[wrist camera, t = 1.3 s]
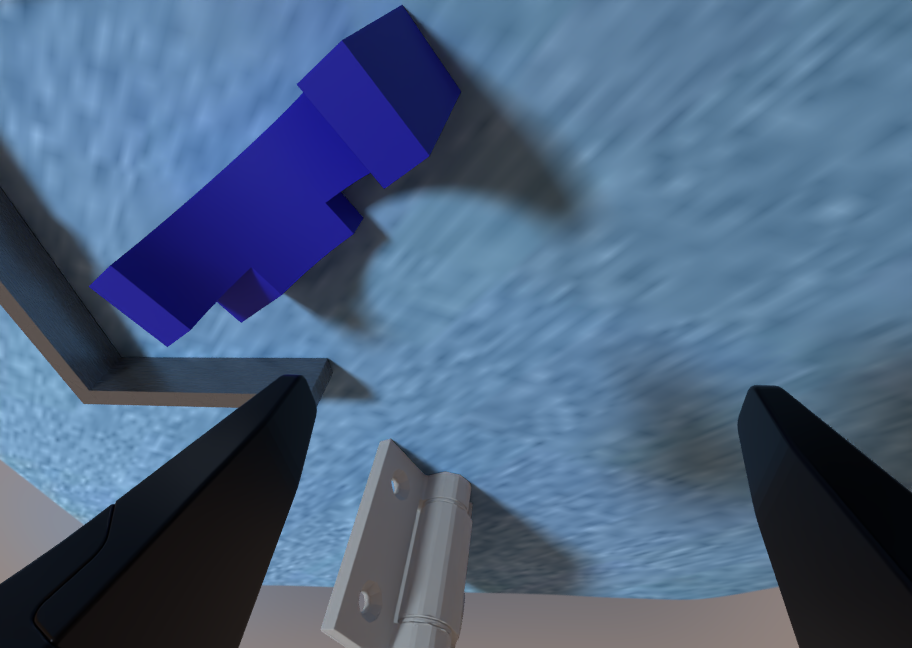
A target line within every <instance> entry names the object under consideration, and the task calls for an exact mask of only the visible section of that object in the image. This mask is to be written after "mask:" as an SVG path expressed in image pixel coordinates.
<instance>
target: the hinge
mask: <svg viewBox="0 0 912 648" xmlns="http://www.w3.org/2000/svg"><path fill="white" fill-rule="evenodd" d="M391 480H392V481H393V482H394V487H395V491H394V493H393V489H392V484H391ZM470 493H471V483H470V482H468V481H467V480H466V479H465V478H463V477H462V476H461V475H458V474H453V473H449V472H441V473H437V474H433V475H429V476H428V475H425V474H423V473H422V472H421V470H420V469H419V468H418V467H417V466H416V465H415V464H414V463H413V462H412V461H411V460H410V459H409V458H408V457H407V456H406V454H405V453H404V452H403V451H402V450H401V449H400V448H399V447H398V446H397V445H396V444H395V443H394V442H393V441H392V440H391V439H387V440H384V441H380V443H379V446H378V450H377V453H376V456H375V459H374V462H373V465H372V468H371V472H370V475H369V478H368V481H367V484H366V487H365V491H364V494H363V497H362V500H361V503H360V506H359V510H358V513H357V516H356V519H355V522H354V525H353V529H352V532H351V535H350V538H349V541H348V544H347V548H346V551H345V554H344V557H343V560H342V563H341V566H340V570H339V573H338V576H337V579H336V582H335V585H334V589H333V592H332V595H331V598H330V601H329V604H328V608H327V611H326V614H325V617H324V620H323V623H322V627H321V631H322V632H323V633H325V634H326V635H328V636H329V637H331V638H332V639H334V640H335V641H337V642H338V643H340V644H341V645H343V646H344V647H346V648H455V644H456V642H457V640H458V638H459V635H460V630H461V625H462V619H463V612H464V603H465V593H464V588H465V580H466V572H467V564H468V555H469V547H470V539H471V530H472V522H473V521H472V520H471V515H472V507H473V503H471V502H469V501H470ZM360 592H362V593H363V594H364V600H365V605H364V609H363V611H362V612H360V608H359V596H360Z"/></svg>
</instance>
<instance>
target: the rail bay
mask: <svg viewBox="0 0 912 648" xmlns="http://www.w3.org/2000/svg"><path fill="white" fill-rule="evenodd" d="M0 305H1V306H2V307H3V308H4V309H5V311H6V312H7V313H8V314H9V315H10V316H11V318H12V319H13V320H14V321H15V322H16V324H17V325H18V326H19V327H20V328H21V330H22V331H23V332H24V333H25V334H26V336H27V337H28V338H29V339H30V340H31V342H32V343H33V344H34V345H35V346H36V348H37V349H38V350H39V351H40V352H41V354H42V355H43V356H44V357H45V358H46V359H47V361H48V362H49V363H50V364H51V365H52V367H53V368H54V369H55V370H56V371H57V373H58V374H59V375H60V376H61V377H62V379H63V380H64V381H65V382H66V383H67V385H68V386H69V387H70V388H71V389H72V391H73V392H74V393H75V394H76V395H77V397H78V398H79V399H80V400H81V401H82V402H83V404H111V405H151V406H191V407H231V408H239V407H240V406H242V405H243V404H244V403H246V402H247V401H248V400H250V399H251V398H252V397H253V396H255V395H256V394H257V393H259V392H260V391H261V390H263V389H264V388H265V387H267V386H268V385H269V384H271V383H272V382H273V381H274V380H276V379H277V378H278V377H280V376H282V375H285V374H290V375H303V376H304V377H305V378H306V380H307V382H308V384H309V387H310V389H311V392H312V394H313V397H314V399H315V402H316V406H317V405H318V403H319V401H320V399H321V397H322V395H323V393H324V391H325V388H326V386H327V384H328V382H329V380H330V378H331V376H332V373H333V372H332V370H331V367H330V364H329V361H328V359H327V358H126V357H121V356H120V355H119V354H118V352H117V351H116V349H115V348H114V347H113V345H112V344H111V342H110V341H109V340H108V338H107V337H106V335H105V334H104V333H103V331H102V330H101V328H100V327H99V326H98V324H97V323H96V321H95V320H94V318H93V317H92V316H91V314H90V313H89V311H88V310H87V309H86V307H85V306H84V304H83V303H82V302H81V300H80V299H79V297H78V296H77V295H76V293H75V292H74V290H73V289H72V288H71V286H70V285H69V283H68V282H67V281H66V279H65V278H64V276H63V275H62V274H61V272H60V271H59V269H58V268H57V266H56V265H55V264H54V262H53V261H52V259H51V258H50V257H49V255H48V254H47V252H46V251H45V250H44V248H43V247H42V245H41V244H40V243H39V241H38V240H37V238H36V237H35V236H34V234H33V233H32V231H31V230H30V229H29V227H28V226H27V224H26V223H25V222H24V220H23V219H22V217H21V216H20V214H19V213H18V212H17V210H16V209H15V207H14V206H13V205H12V203H11V202H10V200H9V199H8V198H7V196H6V195H5V193H4V192H3V191H2V189H1V188H0Z"/></svg>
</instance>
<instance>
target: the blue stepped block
mask: <svg viewBox="0 0 912 648" xmlns="http://www.w3.org/2000/svg"><path fill="white" fill-rule="evenodd" d="M297 85H298V87H299V88H300V89H301V90H302V91H303V93H302V94H301V95H300V97H299V98H298V99H297V100H296V101H295V102H294V103H293V104H292V105H291V106H290V107H289V108H288V109H287V110H286V111H285V112H284V113H283V114H282V115H281V116H280V117H279V118H278V119H277V120H276V121H275V122H274V123H273V124H272V125H271V126H270V127H269V128H268V129H267V130H266V131H265V132H264V133H262V134H261V135H260V136H259V137H258V138H257V139H256V140H255V141H254V142H253V143H252V144H251V145H250V146H249V147H248V148H246V149H245V150H244V151H243V152H242V153H241V154H240V155H239V156H238V157H237V158H236V159H234V160H233V161H232V162H231V163H230V164H229V165H228V166H227V167H226V168H225V169H223V170H222V171H221V172H220V173H219V174H218V175H217V176H216V177H214V178H213V179H212V180H211V181H210V182H209V183H208V184H207V185H205V186H204V187H203V188H202V189H201V190H200V191H199V192H198V193H196V194H195V195H194V196H193V197H192V198H191V199H189V200H188V201H187V202H186V203H185V204H184V205H183V206H181V207H180V208H179V209H178V210H177V211H176V212H174V213H173V214H172V215H171V216H170V217H169V218H167V219H166V220H165V221H164V222H163V223H161V224H160V225H159V226H158V227H157V228H156V229H154V230H153V231H152V232H151V233H150V234H148V235H147V236H146V237H145V238H144V239H142V240H141V241H140V242H139V243H137V244H136V245H135V246H134V247H133V248H131V249H130V250H129V251H128V252H127V253H125V254H124V255H123V256H122V257H120V258H119V259H118V260H117V261H115V262H114V263H113V264H112V265H110V266H109V267H108V268H107V269H106V270H105V271H104V272H103V273H102V274H101V275H100V276H99V277H98V278H97V279H96V280H95V281H94V282H93V283H92V284H91V285H90V286H89V287H90V288H91V289H92V290H94V291H95V292H96V293H98V294H99V295H100V296H102V297H103V298H104V299H105V300H107V301H108V302H109V303H111V304H112V305H113V306H115V307H116V308H117V309H118V310H120V311H121V312H122V313H124V314H125V315H126V316H128V317H129V318H130V319H131V320H133V321H134V322H135V323H137V324H138V325H139V326H141V327H142V328H143V329H145V330H146V331H147V332H148V333H150V334H151V335H152V336H154V337H155V338H156V339H158V340H159V341H160V342H161V343H163V344H164V345H165V346H167V347H168V346H169V345H171V344H172V343H174V342H175V341H176V340H178V339H179V338H180V337H182V336H183V335H185V334H186V333H187V332H189V331H190V330H191V329H192V328H193V327H194V326H195V325H196V323H197V322H198V321H199V320H200V319H201V318H202V317H203V316H204V315H205V313H206V312H207V311H208V310H209V309H210V308H211V307H212V306H213V305H214V304H215V303H216V302H218V303H219V304H220V305H221V306H222V307H223V308H225V309H226V310H227V311H228V312H229V313H230V314H232V315H233V316H234V317H235V318H236V319H237V320H239V321H240V322H243V321H244V320H246V319H247V318H249V317H250V316H252V315H253V314H255V313H256V312H258V311H259V310H261V309H262V308H263V307H265V306H266V305H268V304H269V303H271V302H272V301H274V300H275V299H277V298H278V297H280V296H281V295H282V294H283V293H284V292H285V291H286V290H287V289H288V288H290V287H291V286H292V285H293V284H294V283H295V282H296V281H297V280H298V279H299V278H300V277H301V276H302V275H303V274H305V273H306V272H307V271H308V270H309V269H310V268H311V267H312V266H314V265H315V264H316V263H317V262H318V261H319V260H321V259H322V258H323V257H324V256H325V255H327V254H328V253H329V252H330V251H332V250H333V249H334V248H335V247H337V246H338V245H339V244H341V243H342V242H343V241H345V240H346V239H347V238H349V237H350V236H352V235H353V234H354V233H355V231H356V229H357V228H358V226H359V225H360V223H361V221H362V220H363V217H362V215H361V214H360V213H359V212H358V211H357V210H356V209H355V208H354V206H353V205H352V204H351V203H350V202H349V201H348V200H347V199H346V197H345V196H344V195H343V194H342V193H341V191H342V190H344V189H345V188H347V187H348V186H350V185H351V184H353V183H354V182H356V181H357V180H359V179H361V178H362V177H364V176H366V175H367V174H369V173H371V174H372V175H373V176H374V177H375V179H376V180H377V181H378V182H379V183H380V185H381V186H382V187H383V188H384V189H385V188H386V187H388V186H389V185H390V184H392V183H393V182H395V181H396V180H397V179H399V178H400V177H401V176H403V175H404V174H406V173H407V172H408V171H410V170H411V169H412V168H414V167H415V166H416V165H418V164H419V163H421V162H422V161H423V160H425V159H426V158H427V157H429V156H430V154H431V152H432V150H433V148H434V146H435V144H436V142H437V140H438V138H439V136H440V134H441V132H442V130H443V128H444V126H445V124H446V121H447V119H448V117H449V115H450V113H451V111H452V109H453V107H454V105H455V103H456V101H457V99H458V97H459V95H460V93H461V91H460V89H459V88H458V86H457V85H456V83H455V82H454V80H453V79H452V77H451V76H450V74H449V73H448V71H447V70H446V69H445V67H444V66H443V64H442V63H441V61H440V60H439V58H438V57H437V55H436V54H435V52H434V51H433V49H432V48H431V46H430V45H429V44H428V42H427V41H426V39H425V38H424V36H423V35H422V33H421V32H420V30H419V29H418V27H417V26H416V24H415V23H414V21H413V20H412V18H411V17H410V16H409V14H408V13H407V11H406V10H405V8H404V7H403V5H401V6H399V7H398V8H396V9H394V10H392V11H391V12H389V13H387V14H386V15H384V16H382V17H381V18H379V19H377V20H376V21H374V22H372V23H370V24H369V25H367V26H365V27H364V28H362V29H360V30H359V31H357V32H355V33H354V34H352V35H350V36H348V37H347V38H345V39H343V40H342V41H341V42H340V43H339V44H338V45H337V46H336V47H335V48H334V49H333V50H332V51H330V52H329V53H328V54H327V55H326V56H325V57H324V58H323V59H322V60H321V61H320V62H319V63H318V64H317V65H316V66H315V67H314V68H313V69H312V70H311V71H310V72H309V73H308V74H307V75H306V76H305V77H304V78H303V79H302V80H301V81H300V82H299V83H298V84H297Z"/></svg>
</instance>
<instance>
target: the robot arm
mask: <svg viewBox="0 0 912 648" xmlns="http://www.w3.org/2000/svg"><path fill="white" fill-rule="evenodd" d="M316 413H317V406H316V402H315V399H314V397H313V394H312V392H311V389H310V387H309V384H308V382H307V380H306V378H305V377H304V376H303V375H290V374H285V375H282V376H280V377H278V378H277V379H276V380H274V381H273V382H272V383H271V384H269V385H268V386H267V387H265V388H264V389H263V390H261V391H260V392H259V393H257V394H256V395H255V396H253V397H252V398H251V399H250V400H248V401H247V402H246V403H244V404H243V405H242V406H240V407H239V408H238V409H236V410H235V411H234V412H232V413H231V414H230V415H229V416H227V417H226V418H225V419H223V420H222V421H221V422H219V423H218V424H217V425H215V426H214V427H213V428H211V429H210V430H209V431H207V432H206V433H205V434H204V435H202V436H201V437H200V438H198V439H197V440H196V441H194V442H193V443H192V444H190V445H189V446H188V447H186V448H185V449H184V450H183V451H181V452H180V453H179V454H177V455H176V456H175V457H173V458H172V459H171V460H169V461H168V462H167V463H165V464H164V465H163V466H161V467H160V468H159V469H158V470H156V471H155V472H154V473H152V474H151V475H150V476H148V477H147V478H146V479H144V480H143V481H142V482H140V483H139V484H138V485H137V486H135V487H134V488H133V489H131V490H130V491H129V492H127V493H126V494H125V495H123V496H122V497H121V498H119V499H118V500H117V501H116V503H115V504H112V505H110V506H109V507H107V508H106V509H105V510H103V511H102V512H101V513H100V514H98V515H97V516H96V517H94V518H93V519H92V520H90V521H89V522H88V523H86V524H85V525H84V526H82V527H81V528H79V529H78V530H77V531H75V532H74V533H73V534H71V535H70V536H69V537H67V538H66V539H65V540H63V541H62V542H60V543H59V544H58V545H56V546H55V547H53V548H52V549H51V550H49V551H48V552H46V553H45V554H43V555H42V556H40V557H39V558H37V559H36V560H35V561H33V562H32V563H30V564H29V565H27V566H26V567H24V568H23V569H22V570H20V571H19V572H17V573H16V574H14V575H13V576H11V577H10V578H8V579H7V580H5V581H4V582H2V583H1V584H0V648H238V647H239V645H240V642H241V639H242V637H243V634H244V631H245V628H246V626H247V623H248V621H249V618H250V615H251V612H252V610H253V607H254V604H255V602H256V599H257V596H258V594H259V591H260V588H261V586H262V583H263V580H264V578H265V575H266V572H267V569H268V567H269V564H270V561H271V559H272V556H273V553H274V551H275V548H276V545H277V542H278V540H279V537H280V534H281V532H282V529H283V526H284V524H285V521H286V518H287V516H288V513H289V510H290V507H291V505H292V502H293V499H294V497H295V494H296V491H297V488H298V485H299V481H300V478H301V474H302V470H303V466H304V462H305V458H306V454H307V450H308V446H309V442H310V438H311V434H312V430H313V426H314V422H315V418H316ZM738 434H739V439H740V444H741V448H742V453H743V458H744V463H745V468H746V473H747V478H748V483H749V488H750V492H751V497H752V502H753V506H754V511H755V515H756V518H757V522H758V525H759V528H760V531H761V534H762V537H763V540H764V543H765V546H766V549H767V552H768V555H769V558H770V561H771V564H772V567H773V570H774V573H775V576H776V579H777V582H778V585H779V588H780V591H781V594H782V597H783V600H784V603H785V606H786V609H787V612H788V615H789V618H790V621H791V624H792V627H793V630H794V633H795V636H796V639H797V642H798V645H799V648H912V492H910V491H909V490H908V489H907V488H905V487H904V486H903V485H902V484H900V483H899V482H898V481H897V480H895V479H894V478H893V477H892V476H891V475H889V474H888V473H887V472H886V471H884V470H883V469H882V468H881V467H879V466H878V465H877V464H876V463H874V462H873V461H872V460H871V459H869V458H868V457H867V456H866V455H864V454H863V453H862V452H861V451H860V450H858V449H857V448H856V447H855V446H853V445H852V444H851V443H850V442H848V441H847V440H846V439H845V438H843V437H842V436H841V435H840V434H838V433H837V432H836V431H835V430H833V429H832V428H831V427H830V426H829V425H827V424H826V423H825V422H824V421H822V420H821V419H820V418H819V417H817V416H816V415H815V414H814V413H812V412H811V411H810V410H809V409H807V408H806V407H805V406H804V405H803V404H801V403H800V402H799V401H798V400H796V399H795V398H794V397H793V396H791V395H790V394H789V393H788V392H786V391H785V390H784V389H782V388H781V387H779V386H768V385H754V386H752V387H750V389H749V390H748V392H747V395H746V398H745V400H744V403H743V406H742V409H741V411H740V414H739V417H738Z"/></svg>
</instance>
